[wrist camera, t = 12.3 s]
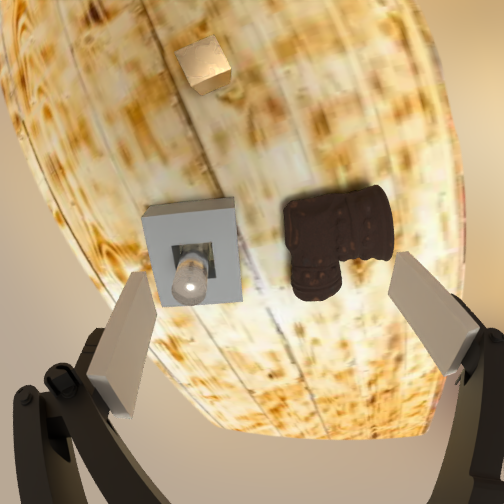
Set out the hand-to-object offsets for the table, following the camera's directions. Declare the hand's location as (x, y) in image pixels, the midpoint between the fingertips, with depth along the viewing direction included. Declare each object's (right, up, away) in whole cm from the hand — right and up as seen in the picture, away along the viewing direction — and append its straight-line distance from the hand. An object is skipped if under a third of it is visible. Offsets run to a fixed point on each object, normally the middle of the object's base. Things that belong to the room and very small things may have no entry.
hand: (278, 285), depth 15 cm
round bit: (-9, +2, +29) cm, 30 cm away
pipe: (+11, +5, +30) cm, 32 cm away
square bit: (-7, +24, +18) cm, 31 cm away
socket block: (-9, +2, +29) cm, 30 cm away
